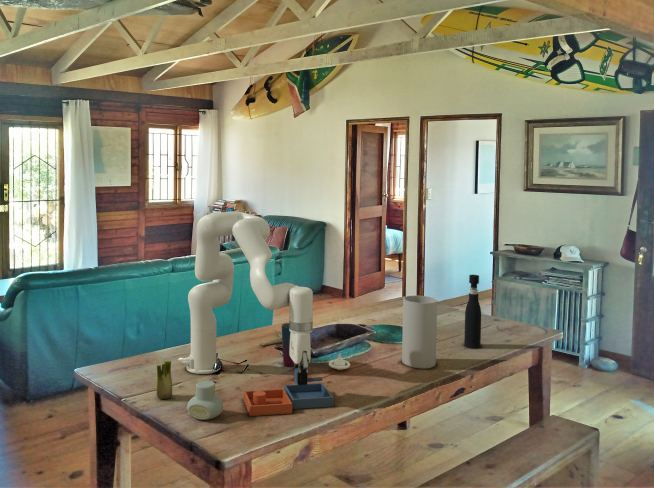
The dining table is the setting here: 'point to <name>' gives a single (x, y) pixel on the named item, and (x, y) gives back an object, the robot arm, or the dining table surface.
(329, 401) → the slate bin
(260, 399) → the orange toy mallet
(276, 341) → the jawbone
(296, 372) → the blue handled cylinder
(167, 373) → the fennel bulb
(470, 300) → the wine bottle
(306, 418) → the dining table surface
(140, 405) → the dining table surface
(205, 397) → the air freshener
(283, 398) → the terracotta bin
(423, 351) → the cylinder vase
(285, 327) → the cup
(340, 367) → the ring around a ball
